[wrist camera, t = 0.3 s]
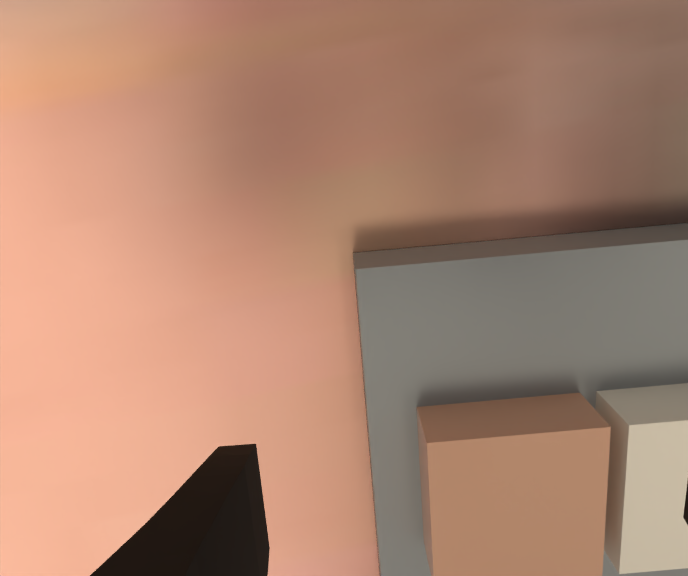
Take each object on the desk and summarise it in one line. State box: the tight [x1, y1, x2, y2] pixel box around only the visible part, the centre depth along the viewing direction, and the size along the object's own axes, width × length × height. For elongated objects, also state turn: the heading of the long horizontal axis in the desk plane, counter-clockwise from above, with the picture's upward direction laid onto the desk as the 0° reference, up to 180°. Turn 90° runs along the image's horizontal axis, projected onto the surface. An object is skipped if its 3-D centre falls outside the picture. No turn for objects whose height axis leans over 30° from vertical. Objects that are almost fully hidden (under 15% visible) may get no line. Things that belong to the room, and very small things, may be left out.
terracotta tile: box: [416, 393, 611, 576], centre depth 17 cm, size 5×5×2 cm
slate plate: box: [353, 223, 688, 576], centre depth 19 cm, size 14×13×2 cm
